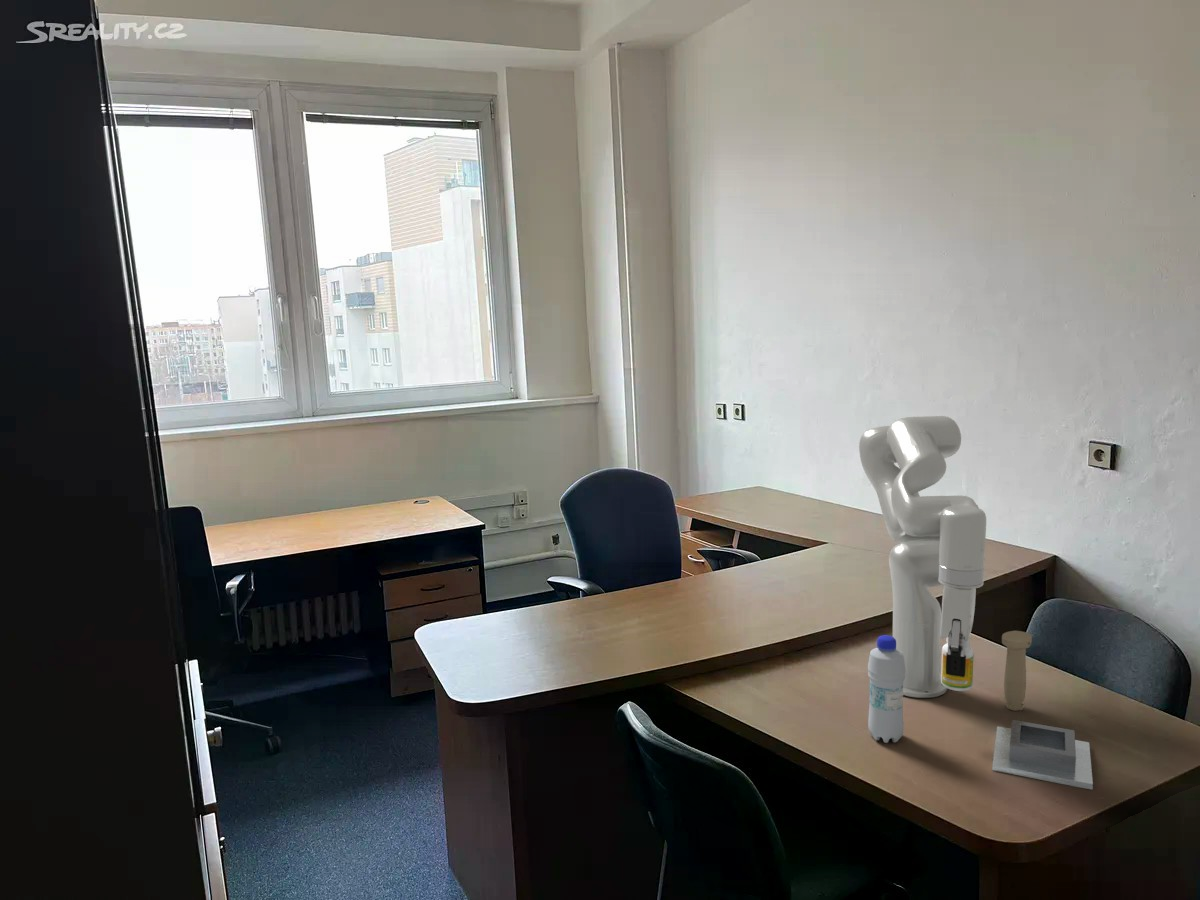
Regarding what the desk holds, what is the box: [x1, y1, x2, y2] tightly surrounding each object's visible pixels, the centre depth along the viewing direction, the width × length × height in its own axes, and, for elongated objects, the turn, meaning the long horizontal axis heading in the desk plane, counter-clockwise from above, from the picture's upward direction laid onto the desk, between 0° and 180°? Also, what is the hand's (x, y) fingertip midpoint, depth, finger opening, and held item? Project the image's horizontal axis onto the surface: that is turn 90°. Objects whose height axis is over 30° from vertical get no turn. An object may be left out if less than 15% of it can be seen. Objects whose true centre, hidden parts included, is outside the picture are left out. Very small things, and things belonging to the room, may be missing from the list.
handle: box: [1001, 630, 1033, 712], centre depth 166 cm, size 5×6×15 cm
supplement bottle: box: [940, 634, 975, 692], centre depth 154 cm, size 5×5×10 cm
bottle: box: [867, 634, 906, 744], centre depth 156 cm, size 7×7×20 cm
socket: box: [991, 719, 1094, 790], centre depth 148 cm, size 15×15×4 cm
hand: (957, 667), depth 154 cm, fingers closed on supplement bottle, 5 cm apart
